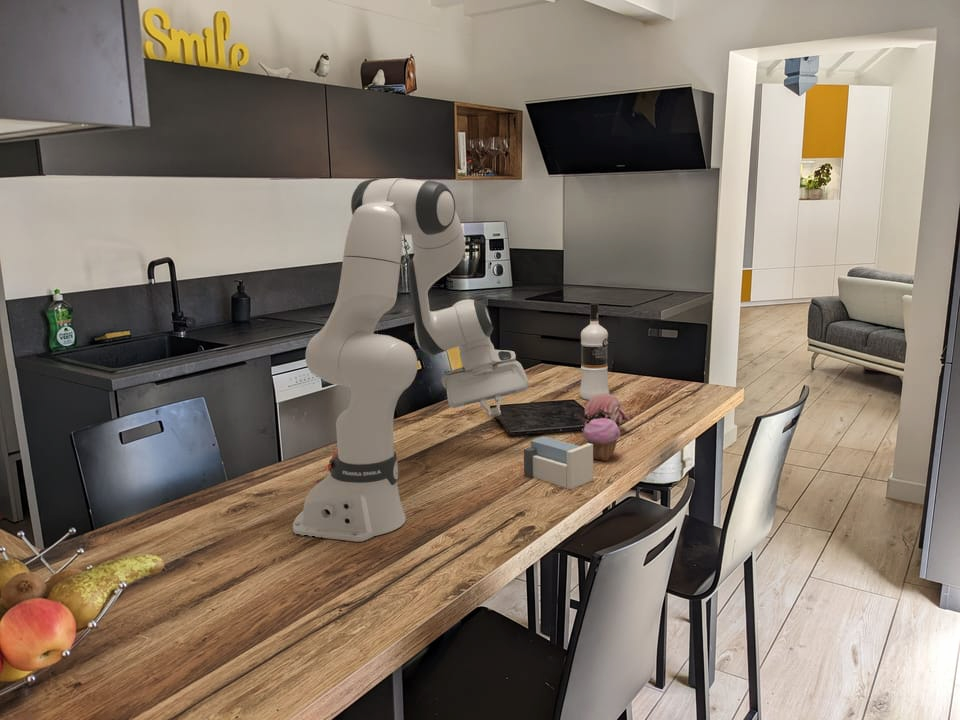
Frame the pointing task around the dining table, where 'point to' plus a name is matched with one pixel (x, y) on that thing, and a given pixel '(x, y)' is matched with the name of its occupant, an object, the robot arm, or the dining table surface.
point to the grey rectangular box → (552, 448)
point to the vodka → (594, 357)
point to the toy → (604, 409)
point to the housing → (561, 467)
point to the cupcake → (602, 437)
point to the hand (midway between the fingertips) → (495, 415)
